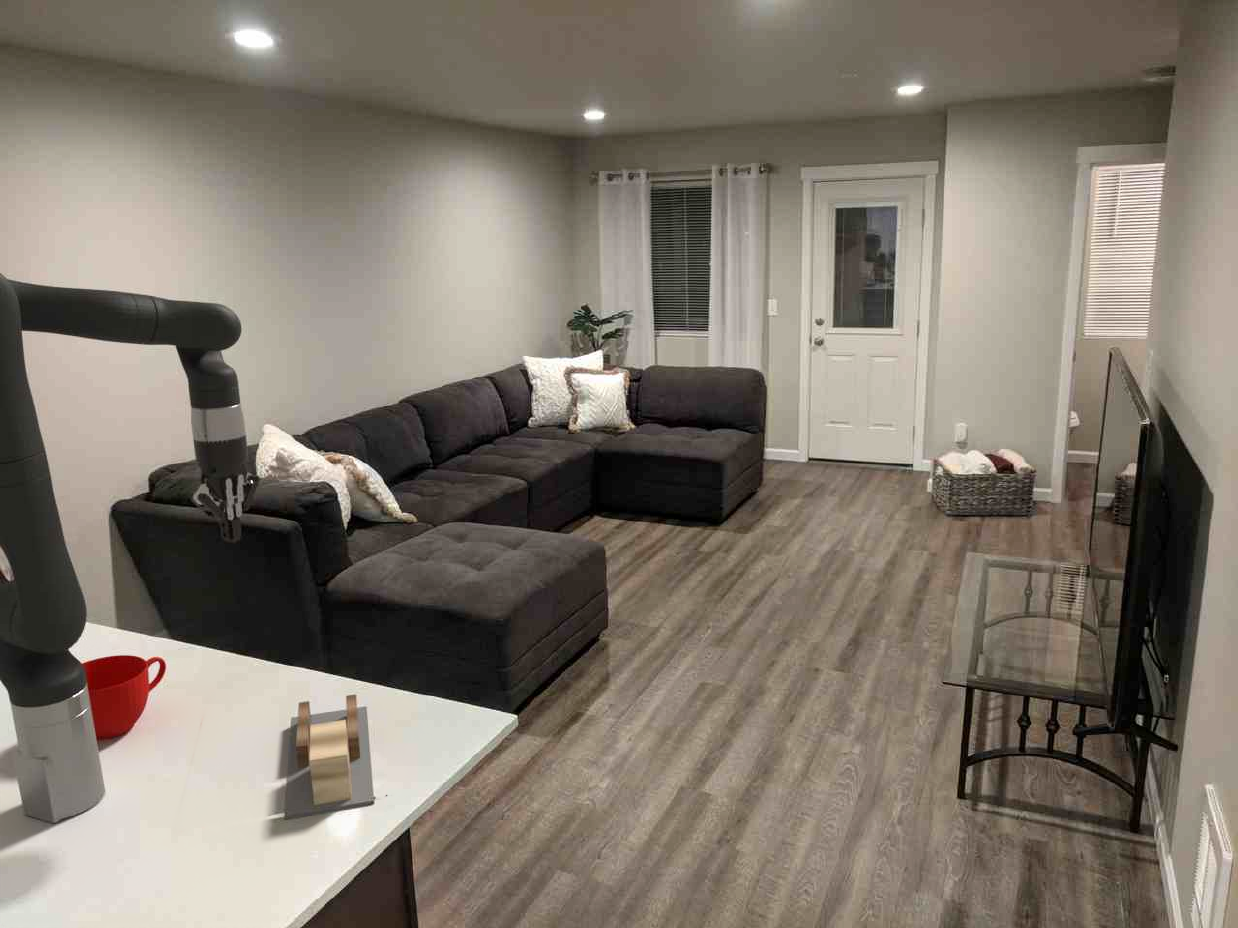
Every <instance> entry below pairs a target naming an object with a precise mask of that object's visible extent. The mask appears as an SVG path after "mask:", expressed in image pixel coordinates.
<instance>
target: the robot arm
mask: <svg viewBox="0 0 1238 928" xmlns="http://www.w3.org/2000/svg"><path fill="white" fill-rule="evenodd" d="M23 332H36V333H44V334H45V333H48V334H55V335H62V336H70V337H76V338H82V339H89V340H95V341H102V342H111V343H118V344H119V343H120V344H121V343H122V344H131V345H141V346H143V345H145V346H147V345H148V346H160V345H161V346H175V349H176V351H177V355H178V358H179V360H180V363H181V366H182V369H183V371H184V373H185V375H186V378H187V383H188V394H189V404H190V424H191V432H192V439H193V441H192V442H193V449H194V457H195V463H196V465H197V467H198V468H199V469H200V473H201V474H200V478H199V483H200V486H199V488H198V489H197V490H196V492H195V491H193V492H192V491H191V492H190V493H189V496H188V497H189V499H190V500H191V502H192V503H193V504H194V505H195V506H196V507H197V508H198V509H199V510H200V511H201V512H202V513H203V514H204V515H205V516H206V517H207V518H208V519H214V520H218V522H219V529H220V537H221V539H222V541H224V542H225V543H230V544H231V543H235V542H237V541H240V540H241V536H242V527H241V525H242V524H241V519H240V517H241V516H242V514H243V512H244V511H249V509H250V506H251V504H252V501H253V499H254V496H255V494H256V491H257V489H258V486H259V484H260V481H261V478H260V476H259V475H255V474H252V473H250V472H249V469H248V466H247V465H246V463H247V462H248V460H249V450H248V442H247V441H248V440H247V434H246V433H247V432H246V425H245V418H244V417H245V416H244V413H243V409H242V404H241V397H240V387H239V379H238V375H237V372H236V370H235V369H234V368H233V367H231V365H229V364H227V363H226V362H225V360H224V356H223V354H222V351H225V350H227V349H230V348H231V347H233V346H234V345H235V344H237V342H238V341H239V339H240V337H241V334H242V323H241V320H240V318H239V317H238V315H237V313H236V312H235V311H234V310H232V309H231V308H230V307H228V306H226V305H224V304H221V303H215V302H201V301H191V300H190V301H187V300H177V299H176V300H175V299H173V300H172V299H168V298H163V297H158V296H153V295H149V294H144V293H143V294H141V293H133V292H126V291H125V292H124V291H116V290H107V289H106V290H105V289H93V288H79V287H78V288H77V287H76V288H74V287H63V286H62V287H61V286H53V285H43V284H42V285H41V284H34V283H29V282H23V281H19V280H13V279H9V278H7V277H6V276H5V275H4V274H2V273H1V272H0V548H1V550H2V552H3V553H4V556H5V557H6V559H7V562H8V565H9V567H10V569H11V570H10V571H11V573H12V576H13V577H12V579H11V580H9V581H7V582H5V583H3V584H2V585H0V682H1V684H2V685H3V686H4V688H5V689H6V691H7V694H8V698H9V699H8V700H9V703H10V707H11V709H10V710H11V713H12V719H13V724H14V730H15V735H16V740H17V746H18V750H17V751H15V752H14V753H13V755H12V758H13V759H12V760H13V763H14V769H15V775H16V778H17V784H18V790H19V796H20V801H21V804H22V811H23V815H25V816H29V817H33V818H35V819H38V820H42V821H46V822H49V823H52V824H56V823H58V822H60V821H61V820H63V819H67V818H70V817H73V816H76V815H79V814H81V813H83V812H85V811H87V810H89V809H92V807H94V806H96V804H97V803H98V804H99V802H100V801H101V800H102V799H103V797H104V795H105V794H106V788H105V782H104V777H103V770H102V764H101V763H102V762H101V759H100V751H99V747H98V741H97V740H98V739H96V734H95V728H94V722H93V716H92V710H91V704H90V698H89V692H88V686H87V679H86V674H85V669H84V667H83V665H82V663H83V662H81V661H80V660H79V659H78V658H77V657H75V655H74V654H72V652H71V651H70V650H69V649H70V648H72V647H73V646H74V645H75V644H76V643H78V641H79V639H80V638H81V637H82V635H83V632H84V631H85V628H86V624H87V615H88V611H87V610H88V609H87V604H86V600H85V597H84V594H83V590H82V587H81V584H80V581H79V580H78V579H79V578H78V577H77V573H76V570H75V568H74V565H73V563H72V559H71V556H70V553H69V551H68V547H67V545H66V544H67V543H66V540H65V536H64V531H63V527H62V526H63V525H62V521H61V517H60V513H59V508H58V504H57V501H56V497H55V493H54V486H53V482H52V481H53V480H52V475H51V470H50V465H49V459H48V457H47V456H48V455H47V450H46V447H45V442H44V439H43V436H42V431H41V428H40V424H39V420H38V419H39V418H38V415H37V414H38V413H37V409H36V406H35V402H34V398H33V394H32V391H31V387H30V383H29V380H28V374H27V368H26V361H25V353H24V352H25V349H24V342H23V341H24V340H23Z"/></svg>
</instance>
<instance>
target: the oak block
mask: <svg viewBox="0 0 1238 928" xmlns="http://www.w3.org/2000/svg"><path fill="white" fill-rule="evenodd" d="M310 768H311V777H312V787H313V796H314V805H318V804H324V803H329V802H335V801H340V800H346V799H351V780H350V760H349V750H348V739H347V728H346V720H340V721H334V722H327V723H321V724H314V725H311V730H310Z"/></svg>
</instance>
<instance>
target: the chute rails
mask: <svg viewBox="0 0 1238 928" xmlns="http://www.w3.org/2000/svg"><path fill="white" fill-rule="evenodd" d="M345 702H346V703H345V705H346V709H345V710H347V738H348V749H349V759H355V758H360V743H359V726H358V710H357V708H358V702H357V694H350V695H346V696H345ZM297 709H298V711H297V717H298V723H297V739H296V752H297V761H298V768H300V767H306V766H309V765H310V730H311V715H312V714H311V706H310V701H308V700H306V701H300V702H298V708H297Z"/></svg>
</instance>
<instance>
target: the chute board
mask: <svg viewBox="0 0 1238 928" xmlns="http://www.w3.org/2000/svg"><path fill="white" fill-rule="evenodd" d="M367 709H368V706H367V705H366V706H361V707H360V706H359V707H357V710H358V726H359V743H360V758H355V759H349V760H350V780H351V799H346V800H340V801H335V802H329V803H324V804H318V805H314V796H313V787H312V777H311V768H310V765H309V766H306V767H300V768H298V761H297V752H296V739H297V723H298V716H293V717H291V720H290V721H291V722H290V734H289V735H290V736H289V749H288V761H287V762H288V763H287V774H286V775H287V776H286V784H285V785H286V786H285V787H286V788H285V797H284V799H285V800H284V811H283V812H284V814H283V819H284V820H288V819H294V818H300V817H307V816H311V815H316V814H317V815H318V814H322V813H329V812H334V811H338V810H345V809H350V808H357V807H362V806H363V807H364V806H366V805H367V806H368V805H373V804H375V795H374V785H373V784H374V783H373V769H372V757H371V746H370V734H369V733H370V732H369V720H368V710H367ZM340 720H346V728H347V710H346V709H340V710H334V711H326V712H321V713H319V712H318V713H314V714H313V713H312V714H311V725H314V724H321V723H327V722H334V721H340ZM347 739H348V738H347ZM348 750H349V749H348Z"/></svg>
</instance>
